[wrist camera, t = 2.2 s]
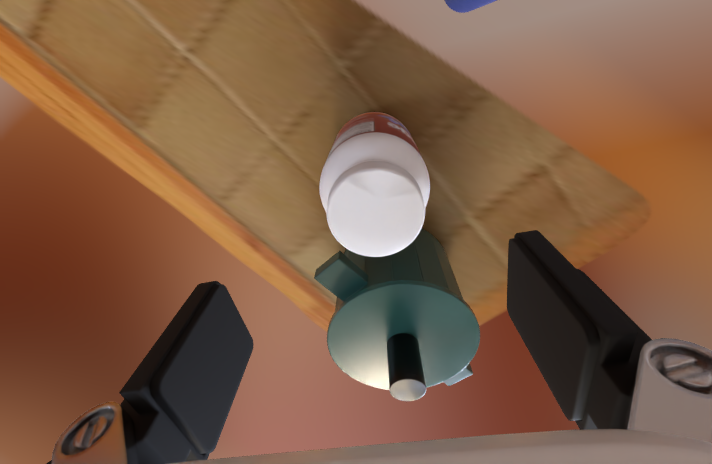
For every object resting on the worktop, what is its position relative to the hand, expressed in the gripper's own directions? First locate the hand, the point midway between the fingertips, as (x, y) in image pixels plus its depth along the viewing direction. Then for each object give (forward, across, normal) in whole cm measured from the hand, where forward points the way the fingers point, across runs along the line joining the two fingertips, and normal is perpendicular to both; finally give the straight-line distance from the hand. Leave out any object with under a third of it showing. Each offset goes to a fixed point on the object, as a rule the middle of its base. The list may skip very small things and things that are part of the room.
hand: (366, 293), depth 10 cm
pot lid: (+8, 0, +11) cm, 14 cm away
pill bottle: (+16, -1, 0) cm, 16 cm away
